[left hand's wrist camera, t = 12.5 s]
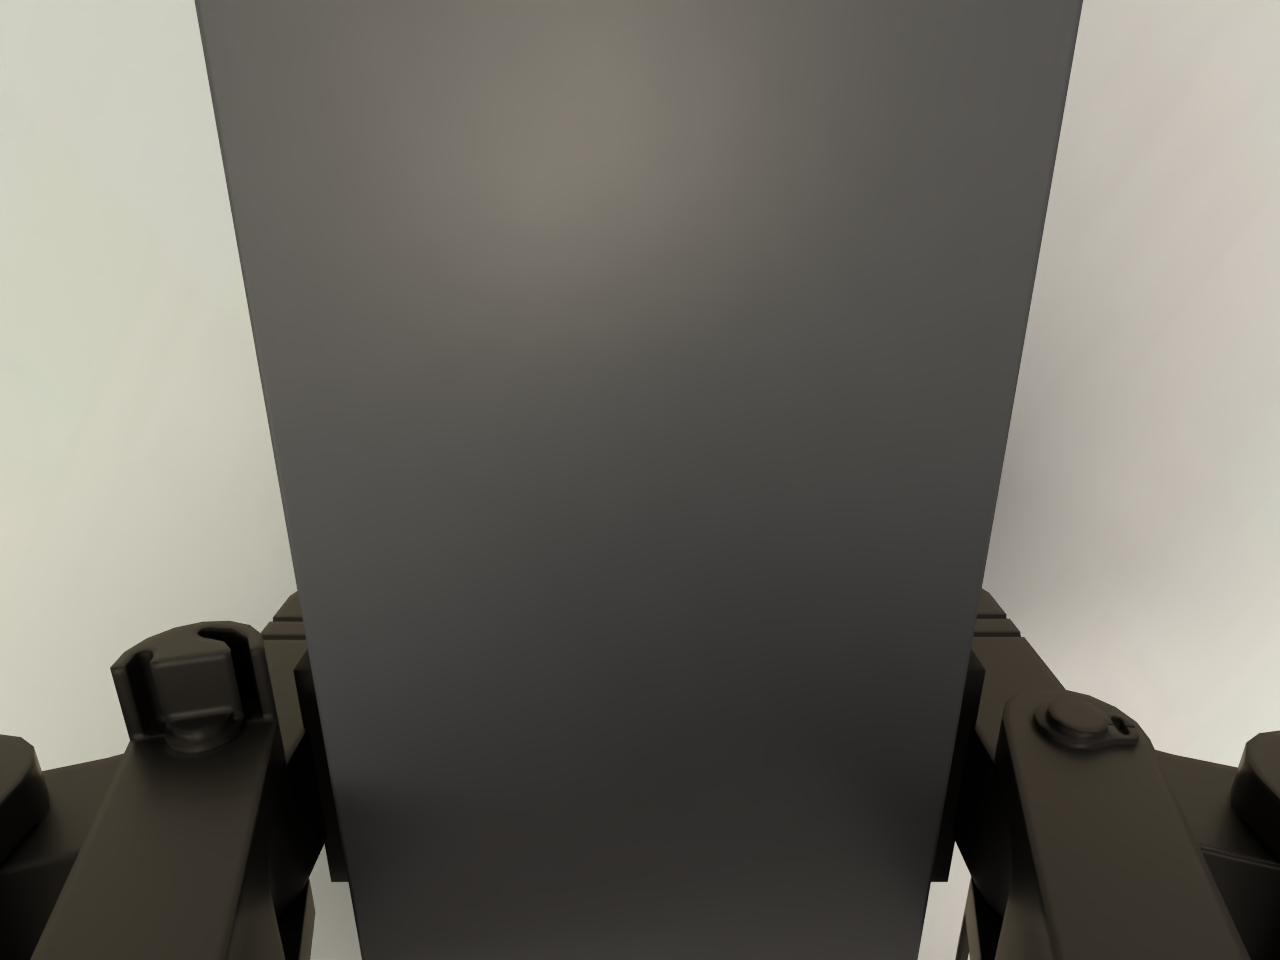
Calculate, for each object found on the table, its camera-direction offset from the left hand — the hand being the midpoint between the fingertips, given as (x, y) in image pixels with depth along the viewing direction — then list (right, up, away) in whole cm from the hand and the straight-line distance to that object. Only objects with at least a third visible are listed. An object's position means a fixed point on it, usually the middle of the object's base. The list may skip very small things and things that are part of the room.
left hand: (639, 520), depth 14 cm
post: (0, +32, -12) cm, 35 cm away
